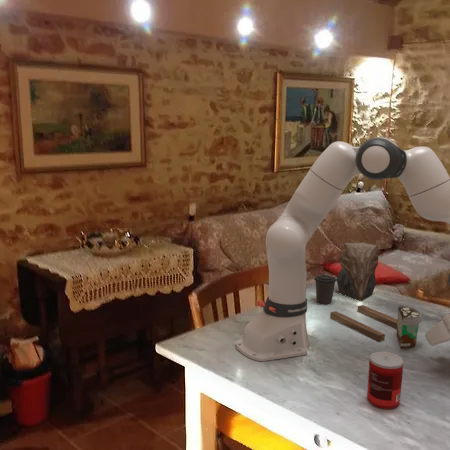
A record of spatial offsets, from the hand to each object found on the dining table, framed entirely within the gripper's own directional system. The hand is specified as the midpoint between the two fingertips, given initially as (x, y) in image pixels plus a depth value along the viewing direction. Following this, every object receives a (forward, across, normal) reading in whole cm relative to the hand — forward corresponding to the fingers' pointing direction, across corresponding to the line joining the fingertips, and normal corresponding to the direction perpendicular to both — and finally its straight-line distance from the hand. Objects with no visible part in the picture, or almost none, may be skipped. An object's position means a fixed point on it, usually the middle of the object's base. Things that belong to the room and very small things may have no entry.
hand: (438, 340), depth 148 cm
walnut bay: (+22, 0, -15) cm, 27 cm away
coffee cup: (+39, -1, -32) cm, 51 cm away
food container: (+11, 0, -4) cm, 12 cm away
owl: (+39, -17, -32) cm, 53 cm away
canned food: (-3, +32, +10) cm, 34 cm away
